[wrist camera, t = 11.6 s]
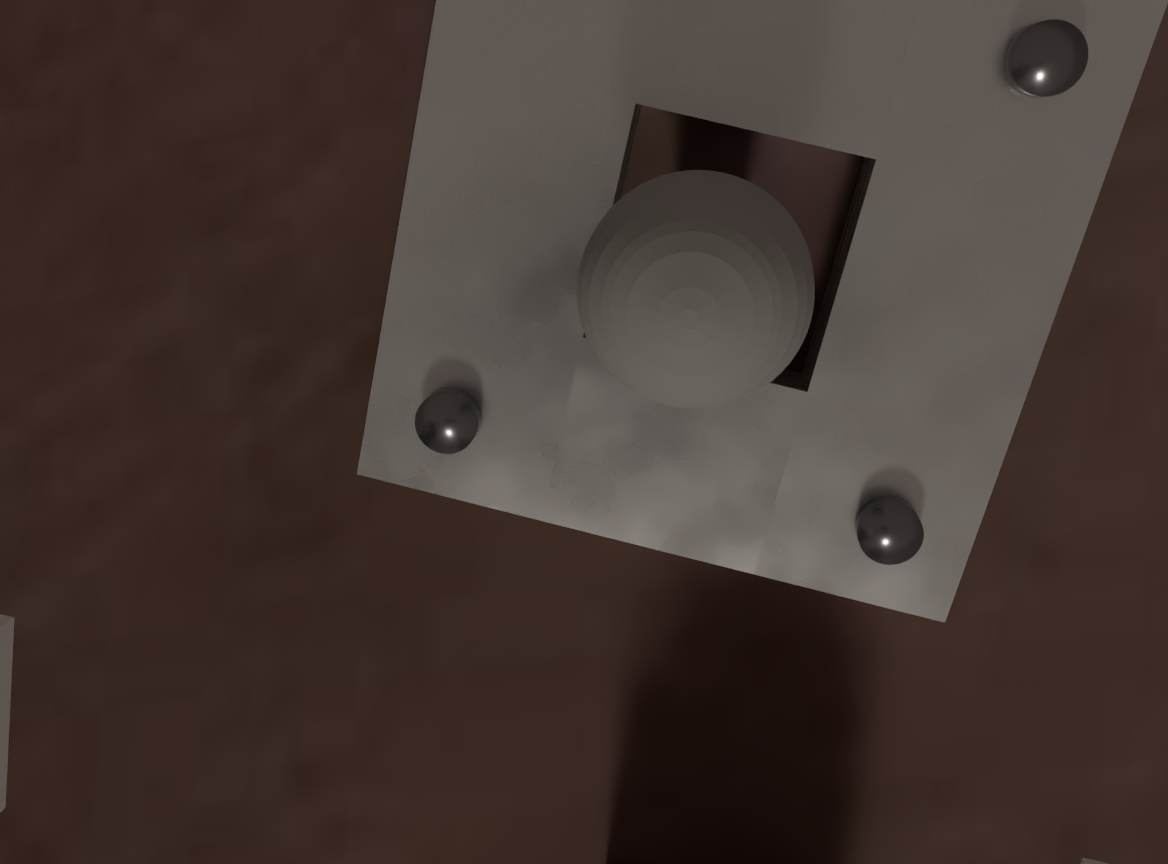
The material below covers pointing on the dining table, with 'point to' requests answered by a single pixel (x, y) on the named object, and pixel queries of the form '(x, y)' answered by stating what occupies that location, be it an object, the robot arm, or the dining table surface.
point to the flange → (852, 296)
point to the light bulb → (696, 289)
